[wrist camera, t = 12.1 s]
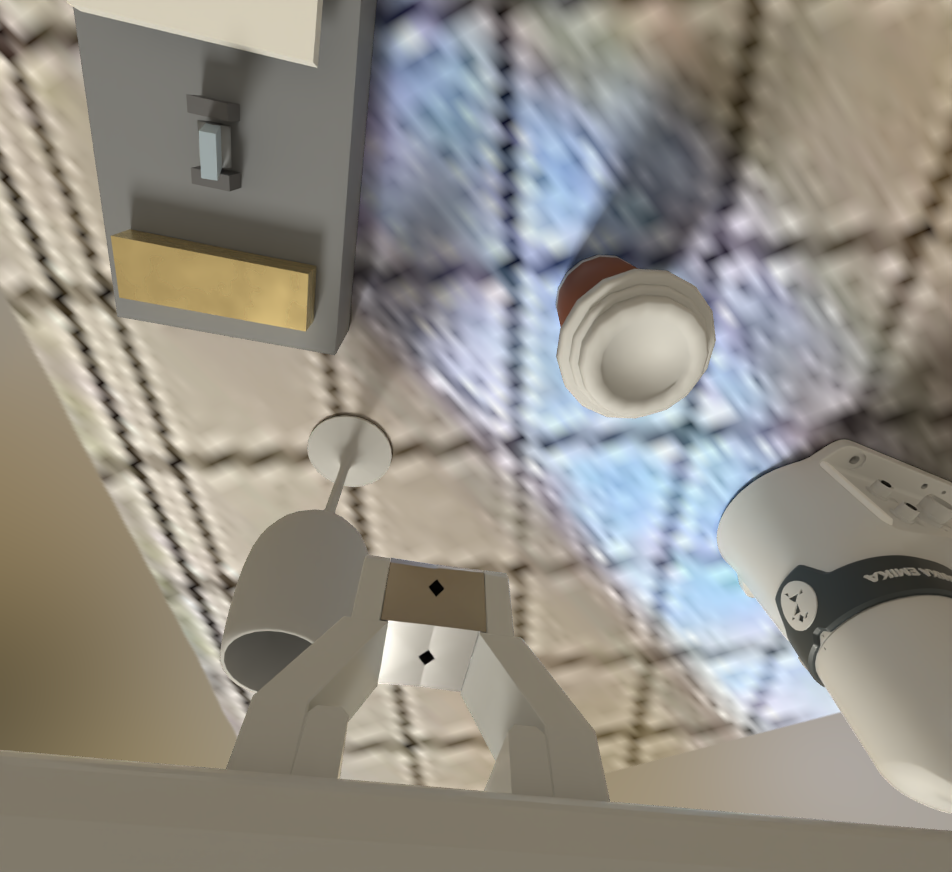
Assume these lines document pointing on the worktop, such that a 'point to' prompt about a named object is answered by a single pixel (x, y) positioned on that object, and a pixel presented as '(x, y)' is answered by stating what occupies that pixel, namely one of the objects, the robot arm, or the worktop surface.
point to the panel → (235, 155)
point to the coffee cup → (630, 337)
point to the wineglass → (303, 562)
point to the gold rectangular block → (214, 280)
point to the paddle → (213, 148)
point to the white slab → (227, 23)
